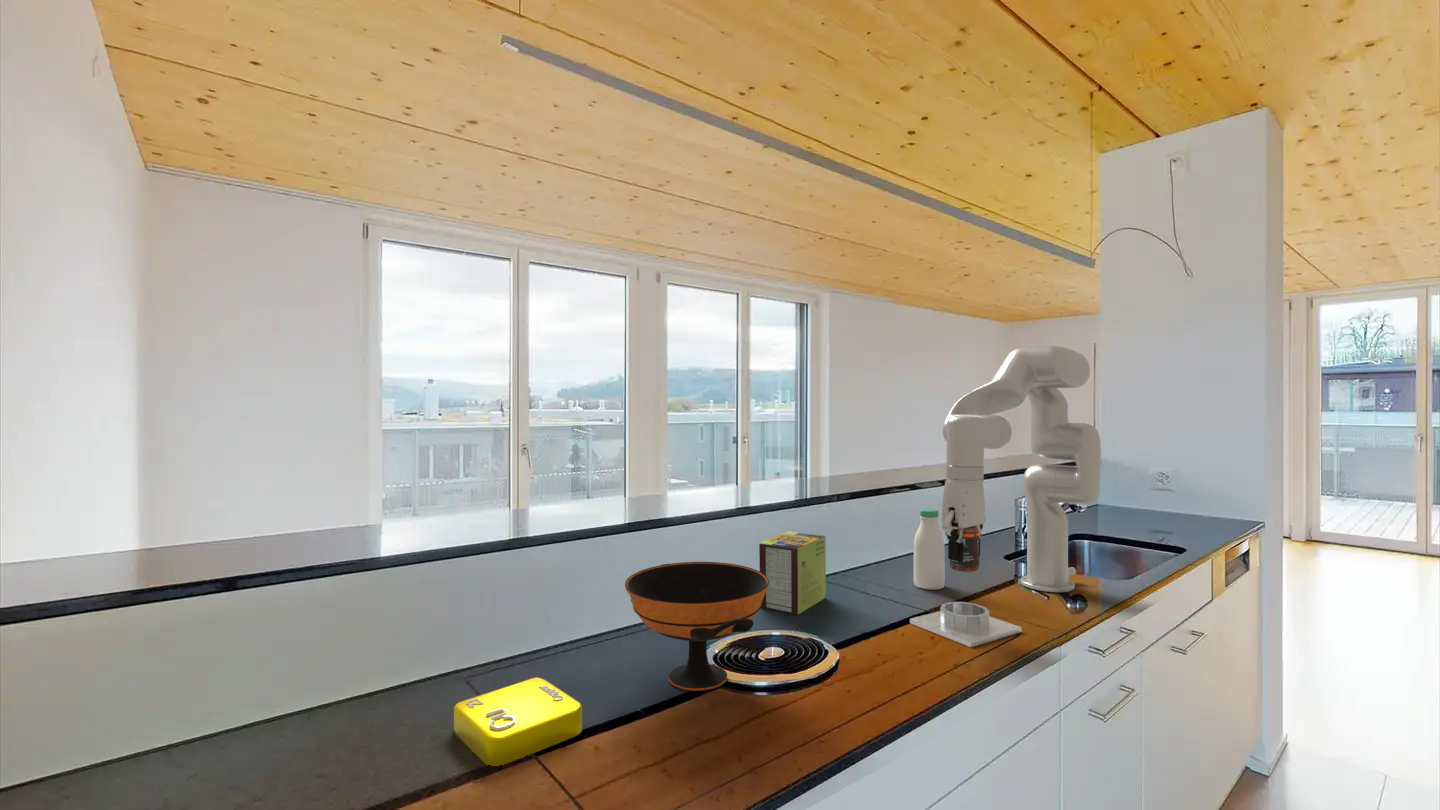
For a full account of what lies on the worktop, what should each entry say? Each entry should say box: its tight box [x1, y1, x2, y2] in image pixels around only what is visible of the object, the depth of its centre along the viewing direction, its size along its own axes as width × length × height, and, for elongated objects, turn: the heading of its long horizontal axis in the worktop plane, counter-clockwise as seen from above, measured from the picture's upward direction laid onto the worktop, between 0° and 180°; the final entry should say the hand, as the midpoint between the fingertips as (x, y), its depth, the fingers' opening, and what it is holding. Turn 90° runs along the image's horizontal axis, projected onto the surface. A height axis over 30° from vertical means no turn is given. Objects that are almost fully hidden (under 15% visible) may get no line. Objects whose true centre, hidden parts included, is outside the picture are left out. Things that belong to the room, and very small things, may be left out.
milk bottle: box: [913, 508, 946, 591], centre depth 173 cm, size 8×8×20 cm
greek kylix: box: [624, 561, 769, 692], centre depth 118 cm, size 36×26×18 cm
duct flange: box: [909, 601, 1022, 648], centre depth 143 cm, size 16×16×4 cm
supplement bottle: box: [949, 524, 980, 573], centre depth 142 cm, size 6×6×11 cm
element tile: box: [453, 677, 583, 767], centre depth 101 cm, size 15×15×5 cm
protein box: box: [758, 530, 827, 616], centre depth 160 cm, size 10×15×16 cm
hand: (964, 557), depth 142 cm, fingers closed on supplement bottle, 6 cm apart
